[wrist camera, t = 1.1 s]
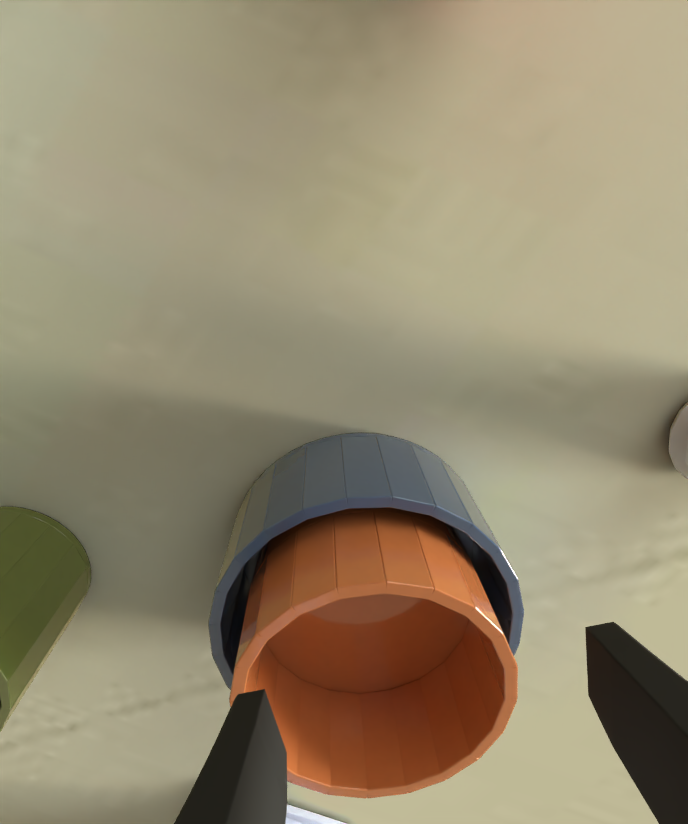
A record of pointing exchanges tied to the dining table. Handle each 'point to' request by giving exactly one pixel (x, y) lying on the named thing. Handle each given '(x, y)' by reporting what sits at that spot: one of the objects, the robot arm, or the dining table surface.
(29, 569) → the olive cup
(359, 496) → the stack big
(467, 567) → the stack mid
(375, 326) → the dining table surface
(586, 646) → the robot arm
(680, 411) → the rook chess piece
